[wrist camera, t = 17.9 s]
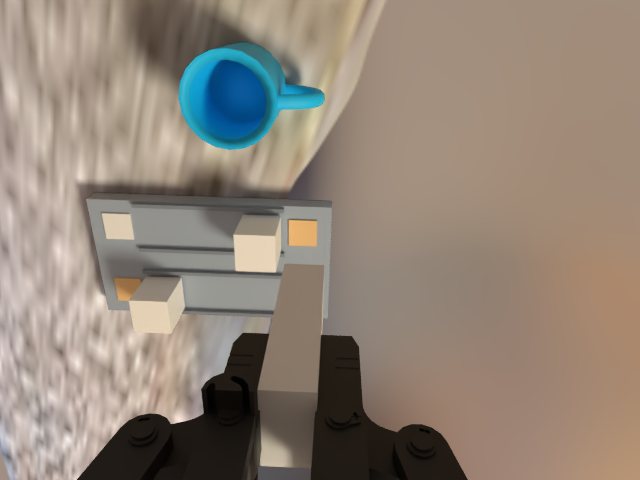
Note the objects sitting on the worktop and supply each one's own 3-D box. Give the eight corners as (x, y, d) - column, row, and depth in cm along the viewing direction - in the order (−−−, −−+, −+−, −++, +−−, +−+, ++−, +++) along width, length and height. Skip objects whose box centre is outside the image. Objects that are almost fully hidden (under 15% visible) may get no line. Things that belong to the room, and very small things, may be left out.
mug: (206, 126, 48) (182, 147, 40) (201, 40, 44) (174, 45, 37) (323, 133, 48) (321, 154, 40) (328, 46, 44) (326, 53, 37)
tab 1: (146, 276, 53) (128, 300, 49) (181, 277, 53) (166, 302, 48) (151, 305, 55) (134, 331, 50) (185, 307, 55) (171, 333, 50)
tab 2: (242, 214, 49) (233, 234, 45) (280, 215, 49) (275, 236, 45) (244, 248, 51) (235, 270, 47) (281, 249, 51) (275, 272, 46)
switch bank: (94, 192, 51) (83, 200, 49) (331, 200, 51) (331, 209, 49) (115, 300, 57) (106, 312, 55) (327, 308, 57) (327, 321, 55)
